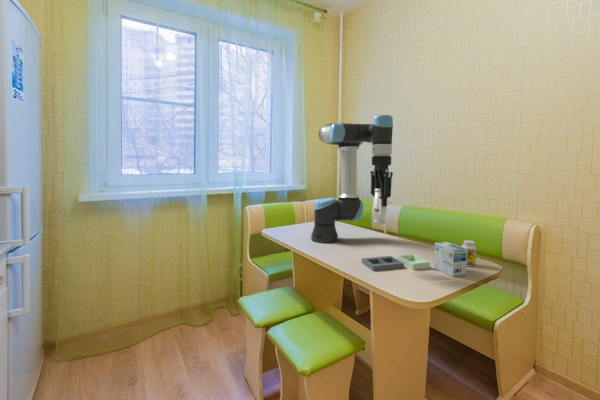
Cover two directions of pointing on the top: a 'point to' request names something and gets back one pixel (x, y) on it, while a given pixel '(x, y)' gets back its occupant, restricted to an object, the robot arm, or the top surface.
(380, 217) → the cylinder
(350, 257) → the top surface
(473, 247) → the supplement bottle
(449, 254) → the light bulb box
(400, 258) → the parts tray
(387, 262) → the fuse holder
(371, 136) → the robot arm
